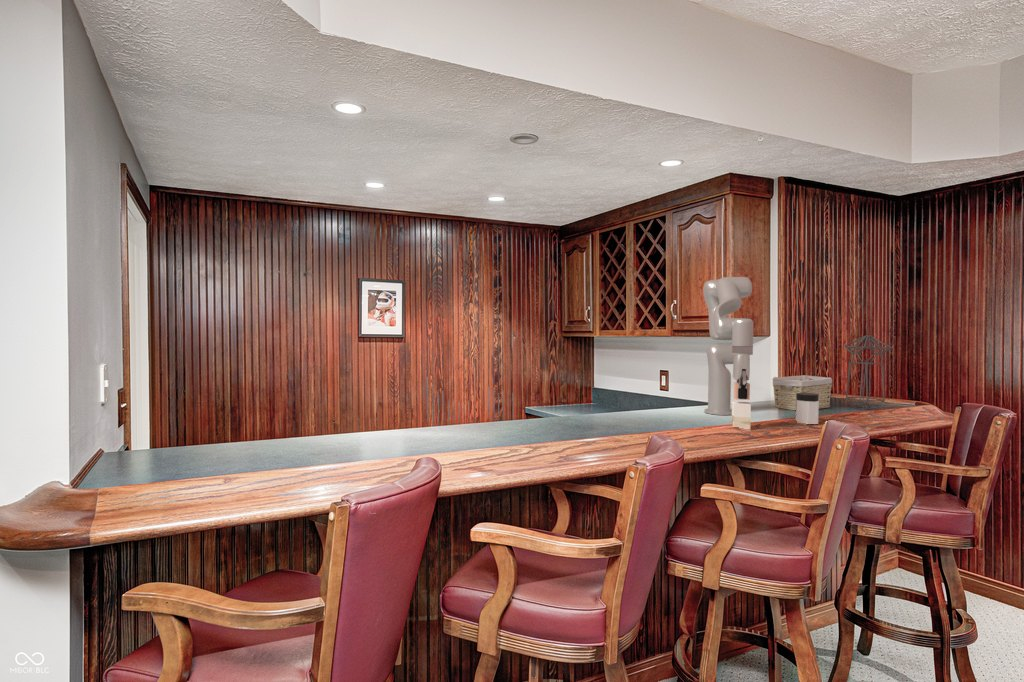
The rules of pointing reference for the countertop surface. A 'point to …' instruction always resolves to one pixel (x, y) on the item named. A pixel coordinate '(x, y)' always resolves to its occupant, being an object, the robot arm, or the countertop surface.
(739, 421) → the base block
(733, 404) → the middle block
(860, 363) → the geometric lantern
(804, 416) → the jar
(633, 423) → the countertop surface
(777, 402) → the storage basket
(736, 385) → the top block
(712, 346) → the robot arm
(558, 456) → the countertop surface
